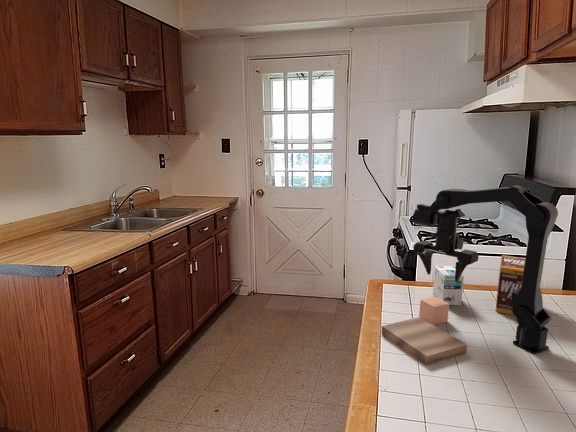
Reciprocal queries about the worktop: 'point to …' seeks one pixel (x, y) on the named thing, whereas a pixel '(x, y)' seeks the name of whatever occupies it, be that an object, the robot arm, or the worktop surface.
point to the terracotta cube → (434, 310)
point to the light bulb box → (447, 285)
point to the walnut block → (424, 340)
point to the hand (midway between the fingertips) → (442, 277)
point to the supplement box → (509, 282)
